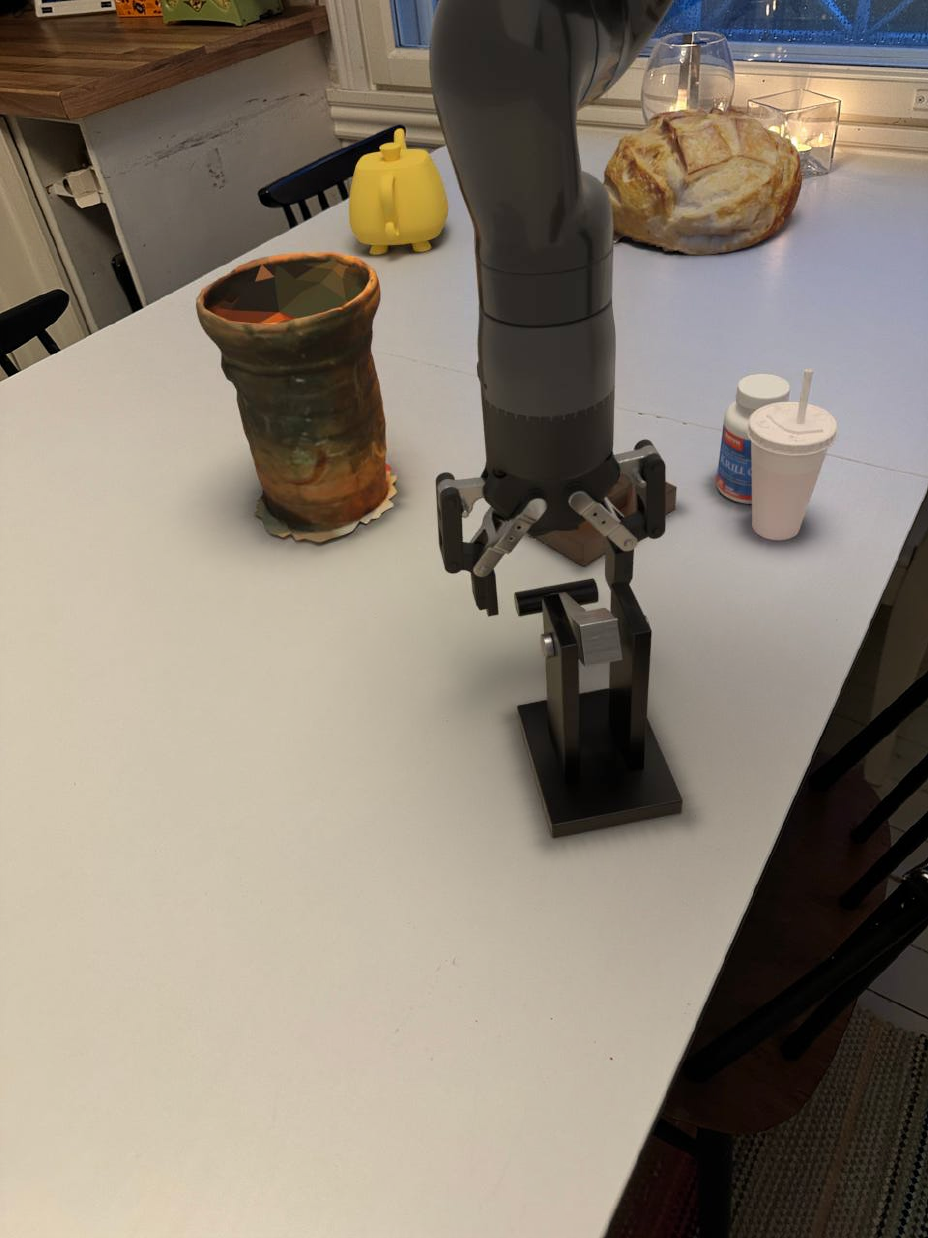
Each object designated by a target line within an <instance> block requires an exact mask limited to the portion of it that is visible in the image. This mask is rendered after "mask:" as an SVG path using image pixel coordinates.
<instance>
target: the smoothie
mask: <svg viewBox="0 0 928 1238" xmlns="http://www.w3.org/2000/svg"><path fill="white" fill-rule="evenodd" d="M813 373H814V370H813V369H812V368H805V369H804V373H803V379H802V384H801V385H802V386H801V391H800V396H799V401H788V402H778V403H772V404H769V405H765V406H763V407H761V408H759V409H757V410H756V411H755V412H754V413H753V414H752V415H751V416H750V419H749V425H748V428H747V434H748V438H749V439H750V440H751V461H752V504H751V515H752V516H751V525H752V526H751V527H752V529H753V531H754V532H755V534H757V535H758V536H759V537H762V538H764V539H765V540H769V541H770V540H771V541H786V540H791V539H792V538H794V537H797V535H798V534H799V532H800V530H801V526H802V524H803V521H804V518H805V516H806V512H807V510H808V508H809V504H810V502H811V498H812V495H813V493H814V489H815V487H816V484H817V481H818V478H819V475H820V472H821V470H822V467H823V464H824V462H825V458H826V456H827V454H828V453H827V452H828V449H829V448H830V447H832V445H833V444H834V443H835V441H836V439H837V431H838V422H837V419H836V418H835V417H834V415H832V413H830V412H829V411H827V410H826V409H824V408H822V407H820V406H817V405H814V404H810V403H808V401H809V397H810V392H811V391H810V390H811V385H812V379H813Z"/></svg>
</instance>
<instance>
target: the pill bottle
mask: <svg viewBox="0 0 928 1238" xmlns="http://www.w3.org/2000/svg"><path fill="white" fill-rule="evenodd" d="M790 391H791V386H790V383H789V382H788V381H787V380H786V379H784V378H783V377H781V376H778V375H774V374H767V373H756V374H750V375H747V376H744V377H742V378H741V379H740V380H739V381H738V383H737V387H736V394H735V401H734V402H732V403H731V404H730V405H729V406H728V407H727V409H726V411H725V413H724V418H723V425H722V433H721V442H720V450H719V456H718V466H717V474H716V487H717V489H718V491H719V493H721V494H722V495H723V496H724V497H726V498H727V499H729V500H731V501H734V502H737V503H741V504H747V505H749V504H751V505H752V461H751V440H750V439H749V438H748V434H747V428H748V425H749V419H750V416H751V415H752V414H753V413H754V412H755V411H756V410H757V409H759V408H761V407H763V406H765V405H769V404H772V403H778V402H789V400H790Z"/></svg>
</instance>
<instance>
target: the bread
mask: <svg viewBox="0 0 928 1238" xmlns="http://www.w3.org/2000/svg"><path fill="white" fill-rule="evenodd" d="M802 172H803V171H802V167H801V157H800V153H799V151H798V149H797V148H796V146H795V145H794V144H793V143H792V140H791V139H790V138H788V137H784V136H782V135H781V134H780V133H778V132H777V131H774V130H770V129H767V128H766V127H764V125H763V124H762V122H760V121H759V120H757V119H756V118H754V117H753V116H752V115H750V114H749V113H747V111H746V110H745V109H742V108H741V107H734V105H728V106H727V108H726V109H725V110H722V109H720V108H719V107H718V108H717V107H712V108H711V109H710V111H708V113H706V111H705V110H704V109H702V108H688V109H678V110H676V111H675V110H674V111H664V112H659V113H657V114H653V115H652V116H651V118H649V119H648V121H647V123H646V126H645V127H644V129H643V130H642V131H637V132H633V133H625V135H624V136H623V137H622V138H620V140H619V142H618V144H617V147H616V148H615V150H614V152H613V154H612V155H611V156H610V158H609V160H608V162H607V164H606V167H605V169H604V172H603V178H604V179H603V182H602V184H603V185H604V186H605V188H606V189H607V191H608V193H609V196H610V199H611V205H612V213H613V230H614V240H613V244H615V243H617V242H619V240H621V238H624V237H627V238H630V239H632V241H633V242H636V243H638V242H639V243H642V244H648V246H655V247H656V248H660V247H661V248H662V250H663V251H664V252H675V251H679V252H680V253H683V255H692V256H694V255H695V256H704V255H705V256H706V255H715V254H719V253H721V254H722V253H729V252H735V251H739V250H742V249H746V248H749V247H751V246H754V245H756V244H758V243H760V242H762V241H763V240H765V239H768V238H769V237H770V236H772V235H773V234H775V233H776V232H778V231H779V230H780V229H781V228H782V226H784V224H785V223H786V221H787V220H788V218H789V217H790V215H791V214H792V212H793V211H794V209H795V207H796V204H797V202H798V200H799V197H800V194H801V189H802V186H803V173H802Z"/></svg>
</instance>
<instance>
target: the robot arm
mask: <svg viewBox="0 0 928 1238" xmlns="http://www.w3.org/2000/svg"><path fill="white" fill-rule="evenodd" d="M674 2H675V0H438V1H437V3H436V4H437V5H436V8H435V11H434V14H433V19H432V25H431V30H430V31H431V32H430V39H429V52H428V54H429V57H428V61H429V63H428V64H429V67H428V68H429V79H430V87H431V93H432V98H433V103H434V104H433V105H434V108H435V112H436V115H437V119H438V123H439V127H440V129H441V133H442V136H443V139H444V142H445V146H446V149H447V152H448V155H449V159H450V162H451V165H452V168H453V171H454V174H455V178H456V180H457V185H458V189H459V191H460V194H461V196H462V199H463V201H464V205H465V207H466V210H467V212H468V215H469V218H470V220H471V224H472V228H473V236H474V237H473V244H474V246H473V247H474V259H475V271H476V282H477V283H476V285H477V286H476V287H477V298H478V324H477V339H476V340H477V342H476V345H477V348H476V349H477V363H476V374H477V378H478V381H479V387H480V388H479V389H480V398H481V400H480V401H481V411H482V425H483V436H484V438H483V439H484V447H485V448H484V449H485V465H484V468H483V471H482V473H481V474H480V476H478V477H471V478H462V479H461V478H460V479H456V477H455V476H454V474H452V473H451V472H448V471H445V472H444V471H443V472H441V473H439V474H438V475H437V476H436V478H435V499H436V513H437V515H436V518H437V535H438V547H439V552H440V555H441V559H442V563H443V567H444V570H445V572H446V573H448V574H452V575H456V574H458V573H461V571H466V572H468V573H470V581H471V582H470V583H471V592H472V596H473V599H474V602H475V606H476V608H477V609H478V610H479V611H484V610H485V611H486V615H487V617H488V618H490V617H496V616H499V613H500V612H499V601H498V589H497V575H496V571H495V568H496V566H498V563H499V562H500V561H501V560H502V558H503V557H504V556H505V555H510V554H511V553H512V552H513V551H514V550H515V548H516V547H517V545H518V544H519V543H520V541H521V540H522V539H523V537H524V536H525V535H529V537H530V538H536V536H542V535H545V534H547V533H550V532H552V531H571V530H576V529H579V525H581V524H583V523H584V522H586V521H588V522H589V523H590V524H592V525H593V526H594V527H595V528H596V529H597V530H598V531H599V532H600V533H601V534H602V535H603V536H605V537H606V538H605V553H604V578H605V582H606V585H607V586H608V588H609V590H610V591H611V584H612V583H617V582H622V581H628V583H629V585H630V584H631V582H632V581H633V578H634V562H635V561H634V559H635V558H634V557H635V549H636V547H637V546H638V544H639V542H641V541H643V540H645V539H647V538H649V539H651V540H657V539H659V538H662V537H663V536H664V535H665V533H666V520H667V519H666V515H667V514H666V482H667V480H666V479H667V478H666V477H667V476H666V471H667V470H666V467H667V466H666V462H665V461H664V460H663V458H662V455H660V453H659V451H658V449H657V448H656V447H655V445H654V444H653V442H652V441H651V440H650V439H646V438H645V439H641V440H639V441H638V442H636V443H635V445H634V447H633V450H630V451H625V452H621V453H616V454H615V453H614V435H615V434H614V432H615V401H616V400H615V399H616V398H615V397H616V359H617V358H616V357H617V356H616V355H617V335H616V334H617V333H616V323H615V317H614V307H613V286H614V285H613V284H614V282H613V281H614V243H613V241H614V240H615V238H614V230H613V213H612V205H611V199H610V196H609V193H608V191H607V189H606V188H605V186H604V185H603V182H601V181H600V179H599V178H598V177H596V176H594V175H592V174H591V173H589V172H586V171H583V169H582V162H581V156H580V148H579V140H578V127H577V124H578V123H577V121H578V112H579V111H580V110H582V109H584V108H587V107H588V106H589V105H591V104H593V103H594V102H596V101H597V100H599V99H600V98H601V97H603V96H604V95H605V94H607V93H608V92H609V91H610V90H611V89H612V88H613V87H614V86H615V85H616V84H617V83H618V82H619V81H620V79H621V78H622V77H623V76H624V75H625V73H626V72H627V71H628V70H629V69H630V68H631V66H632V65H633V64H634V62H635V61H636V60H637V59H638V57H639V56H640V55H641V53H642V52H643V50H644V49H645V48H646V46H647V45H648V43H649V42H650V40H651V38H653V36H654V34H655V33H656V31H657V29H658V28H659V26H660V25H661V24H662V21H663V20H664V18H665V17H666V15H667V13H668V11H669V10H670V8H671V7H672V5H673V3H674ZM620 475H626V476H627V477H628V479H629V481H630V483H631V484H632V485H633V486H635V510H636V512H634V513H632V514H630V515H627V516H624V515H623V514H622V513H621V512H620V511H619V510H617V509H616V508H615V507H614V506H613V505H612V504H611V503H610V501H609V500H608V499H607V497H606V496H607V495H608V493H609V492H610V491H611V489H612V488H613V487H614V485H615V484H616V483H617V481H618V479H619V477H620ZM481 499H484V501H485V502H486V503H487V504H488V505H489V508H488V509H487V511H486V512H485V513H484V515H483V518H482V524H481V525H480V527H479V528H478V529H477V531H476V532H475V533H474V535H473V537H472V538H471V539H470V541H469V542H468V541H467V542H466V541H464V536H463V533H464V531H463V518H464V519H467V518H469V516H470V514H471V513H472V512H473V509H474V505H475V503H476V502H477V501H478V500H481Z"/></svg>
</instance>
